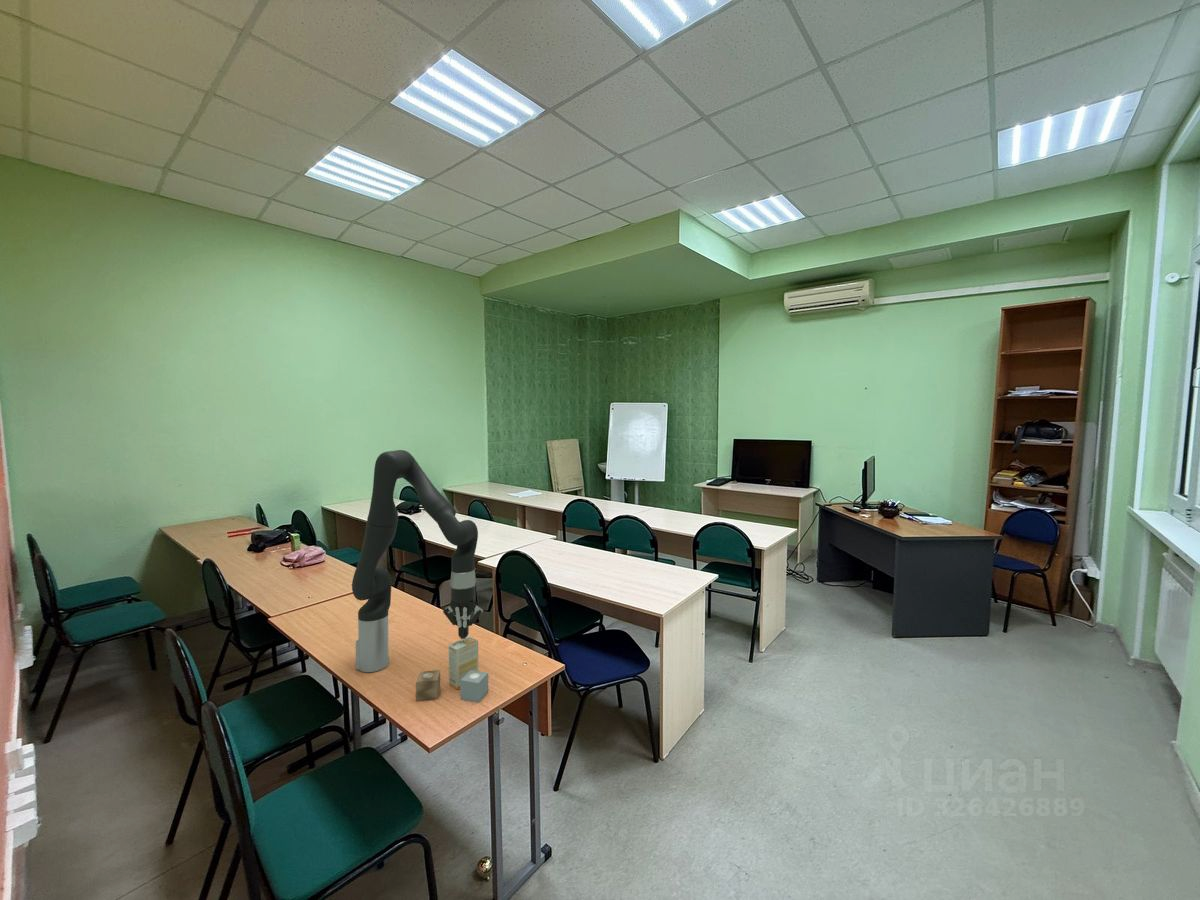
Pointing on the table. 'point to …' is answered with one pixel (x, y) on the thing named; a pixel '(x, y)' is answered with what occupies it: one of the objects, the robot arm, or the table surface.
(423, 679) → the walnut block
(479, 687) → the slate block
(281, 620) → the table surface
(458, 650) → the supplement box
